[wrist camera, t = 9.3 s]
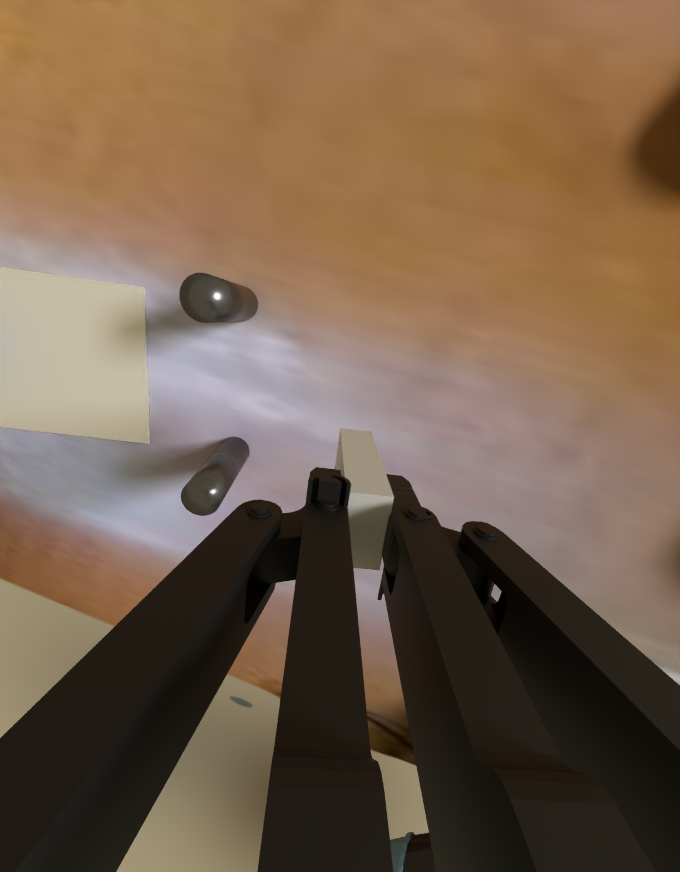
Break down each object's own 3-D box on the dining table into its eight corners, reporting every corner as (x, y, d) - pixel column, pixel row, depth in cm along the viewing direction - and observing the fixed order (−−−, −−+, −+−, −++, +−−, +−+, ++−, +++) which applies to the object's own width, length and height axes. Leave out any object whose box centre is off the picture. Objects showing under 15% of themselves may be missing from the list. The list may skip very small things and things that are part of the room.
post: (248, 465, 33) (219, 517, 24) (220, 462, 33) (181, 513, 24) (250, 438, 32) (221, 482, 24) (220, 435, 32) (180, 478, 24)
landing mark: (150, 443, 32) (148, 443, 32) (-4, 425, 31) (-6, 426, 31) (144, 287, 28) (143, 287, 28) (-32, 262, 27) (-34, 262, 27)
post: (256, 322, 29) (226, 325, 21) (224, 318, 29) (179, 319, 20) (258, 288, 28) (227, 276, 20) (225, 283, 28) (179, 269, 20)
